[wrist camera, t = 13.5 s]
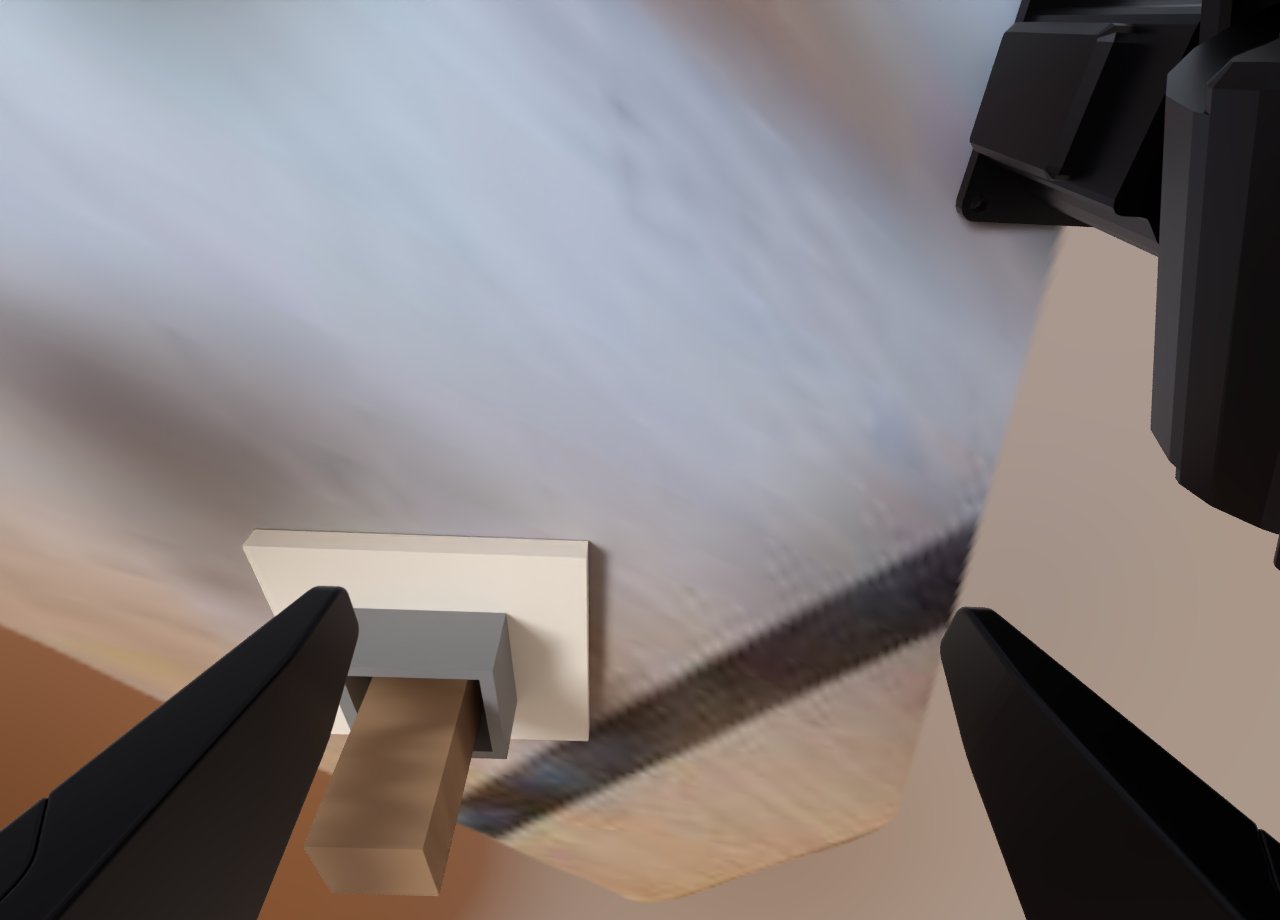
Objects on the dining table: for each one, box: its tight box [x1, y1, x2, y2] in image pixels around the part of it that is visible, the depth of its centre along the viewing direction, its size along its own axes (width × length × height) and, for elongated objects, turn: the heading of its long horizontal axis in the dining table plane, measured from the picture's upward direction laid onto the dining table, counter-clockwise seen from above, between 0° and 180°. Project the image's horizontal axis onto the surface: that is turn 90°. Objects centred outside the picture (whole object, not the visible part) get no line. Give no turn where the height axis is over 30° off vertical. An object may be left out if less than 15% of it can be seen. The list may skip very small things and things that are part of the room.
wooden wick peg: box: [303, 677, 484, 896], centre depth 25 cm, size 4×4×9 cm
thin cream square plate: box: [242, 529, 590, 759], centre depth 28 cm, size 14×14×4 cm
